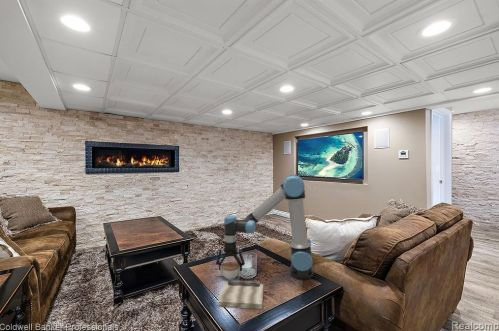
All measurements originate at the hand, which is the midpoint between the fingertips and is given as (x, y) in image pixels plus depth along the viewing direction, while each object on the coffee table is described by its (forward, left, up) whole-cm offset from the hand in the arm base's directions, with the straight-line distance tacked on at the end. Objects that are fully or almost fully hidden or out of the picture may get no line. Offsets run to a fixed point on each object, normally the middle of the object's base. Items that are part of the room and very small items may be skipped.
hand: (230, 275), depth 141 cm
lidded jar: (0, 0, -1) cm, 1 cm away
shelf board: (-10, +20, -1) cm, 22 cm away
